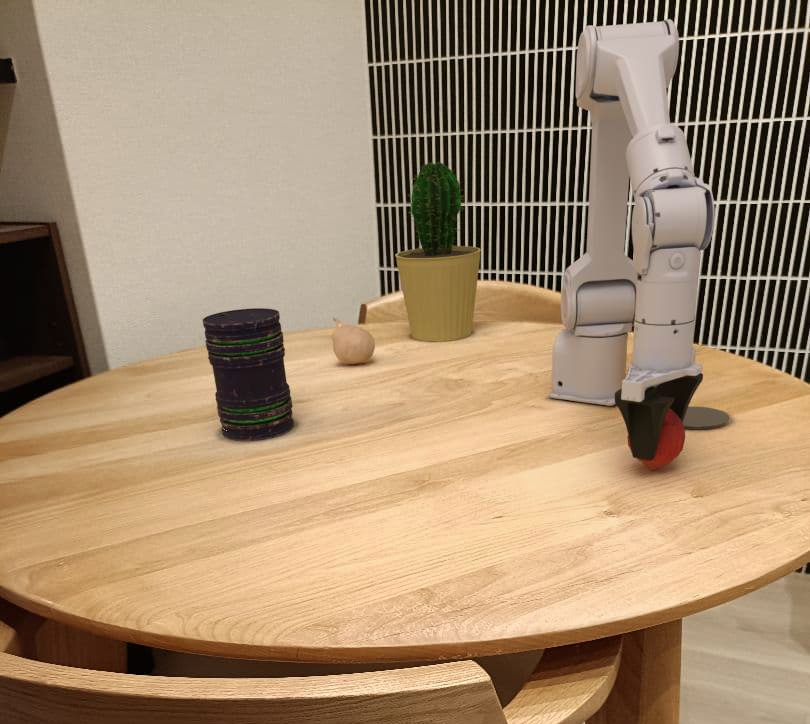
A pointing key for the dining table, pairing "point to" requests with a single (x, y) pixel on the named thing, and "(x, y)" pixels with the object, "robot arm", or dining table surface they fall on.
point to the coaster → (704, 418)
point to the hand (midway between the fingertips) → (655, 448)
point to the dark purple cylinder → (249, 373)
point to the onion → (667, 442)
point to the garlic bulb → (352, 343)
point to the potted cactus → (438, 261)
